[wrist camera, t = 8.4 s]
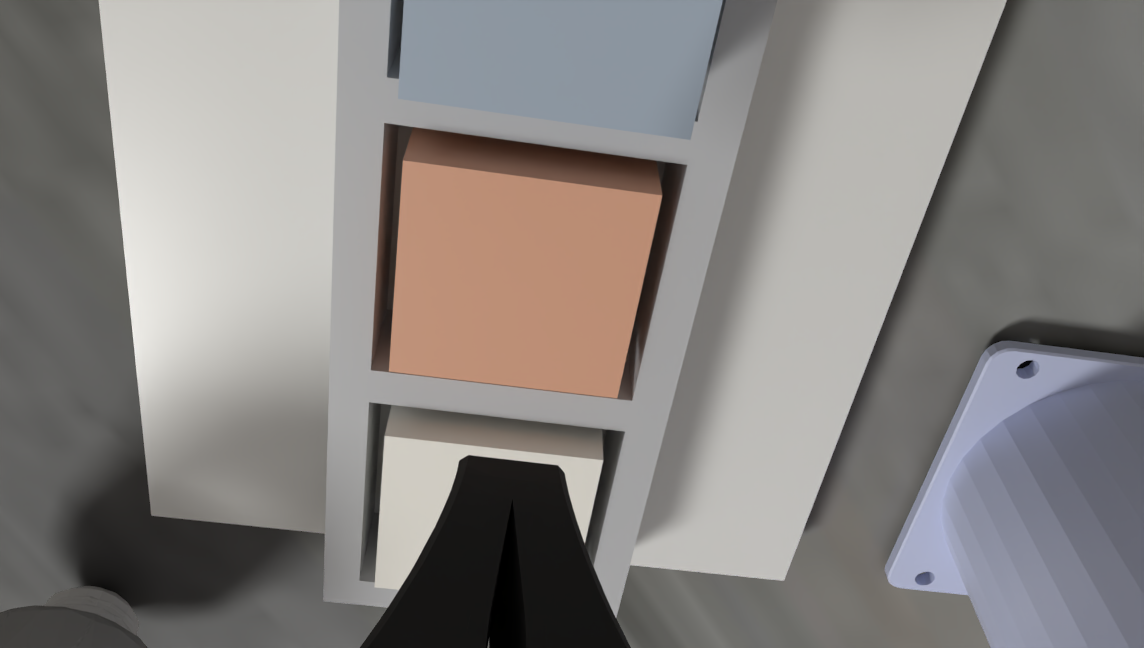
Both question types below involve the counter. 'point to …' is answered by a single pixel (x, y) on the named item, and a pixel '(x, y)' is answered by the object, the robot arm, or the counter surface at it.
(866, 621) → the counter surface
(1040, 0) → the counter surface
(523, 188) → the key terracotta
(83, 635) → the light bulb
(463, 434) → the key ivory
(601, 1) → the key slate
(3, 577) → the counter surface
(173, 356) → the keypad
